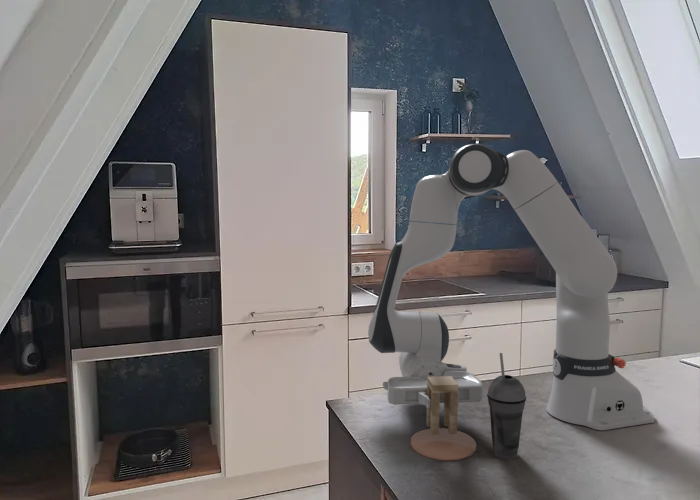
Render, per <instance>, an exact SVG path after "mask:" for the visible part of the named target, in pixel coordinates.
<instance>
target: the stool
mask: <svg viewBox="0 0 700 500" xmlns="http://www.w3.org/2000/svg"><path fill="white" fill-rule="evenodd" d="M440 393H444V403H443V424H444V426H445V427H447V429H448V432H449V433H450V434H457V431H458V412H459V411H458V409H459V402H458V384H457V383H456V381H455V380H454V379H453V378H452V376H439V377H427V396H429V397H431V408H427V407H426V426H427V427H428V428H429V429H430V432H431V434H432V435H439V428H440V407H441V406H440V404H441V403H440Z"/></svg>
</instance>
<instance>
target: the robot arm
mask: <svg viewBox="0 0 700 500" xmlns="http://www.w3.org/2000/svg"><path fill="white" fill-rule="evenodd" d="M490 190H495V191H499V193H501V194H502V195H503V196H504V197H505V198H506V199H507V200H508V202H509V204H510V205H511V207H512V209H513V210H514V212H515V213H516V214H517V216H518V217H519V219H520V221H521V223H523V224H524V225H523V226H525V228H526V229H527V231H528V232H529V234H530V235H531V237H532V238H533V240H534V242H536V245H537V246H538V247H539V249H540V251H541V252H542V253H543V255H544V256H545V258H546V260H548V262H549V263H550V265H551V267H552V268H553V270H554V272H555V296H556V297H555V303H556V304H555V305H556V325H555V327H556V329H555V330H556V331H555V349H554V350H553V359H552V373H553V381H552V386H551V390H550V396H549V399H548V402H547V404H546V408H545V409H546V412H548V414H550V415H551V416H552V417H553V418H556V419H558V420H561V421H564V422H567V423H570V424H574V425H579V426H584V427H588V428H590V429H593V430H597V431H607V430H613V429H619V428H627V427H634V426H638V425H639V426H640V425H645V424H651V423H653V424H654V423H655V415H654V414H653V413H652V411H651V410H649V409H648V408H647V407H645V405H644V403H643V398H642V394H641V392H640V390H639V388H638V387H637V386H635V385H634V384H633V383H632V382H631V381H630V380H628V379H627V378H625V376H624V375H622V374H621V373H619V372H618V371H617V369H616V367H617V368H619V369H624V368H625V367H626V364H627V361H626V360H625V359H622V358H620V357H617V356H616V357H615V356H613V355H611V354H610V330H611V329H610V328H611V327H610V326H611V318H610V310H609V296H608V293H609V292H610V291H611V290H612V289H613V287H614V286H615V284H616V282H617V279H618V268H617V263H616V261H615V260H614V258H613V257H612V256H611V254H610V252H609V251H608V250H607V248H606V247H605V245H604V244H603V242H602V241H601V240H600V239H599V237H598V236H597V234H596V233H595V232H594V230H593V229H592V227H590V225H589V223H588V222H587V221H586V220H585V219H584V217H583V215H581V214H580V212H579V211H578V210H577V208H576V206H575V205H574V203H573V202H572V201H571V199H570V197H569V196H568V194H567V192H565V190H564V189H563V187H562V186H561V185H560V183H559V182H558V180H557V179H556V177H555V176H554V174H553V173H552V172H551V171H550V169H549V168H548V167H547V166H546V165H545V164H544V163H543V161H541V159H539V157H538V156H536V155H535V153H533V152H532V151H530V150H527V149H522V150H521V149H519V150H515V151H513V152H511V153H508V154H507V155H506V154H504V153H502V152H500V151H497V150H496V149H493V148H491V147H490V146H487V145H485V144H480V143H470V144H466V145H464V146H462V147H460V148H459V149H458V150H457V151H456V152H455V153H454V154H453V156H452V158H451V159H450V163H449V168H448V170H447V171H446V172H445V173H443V174H431V175H427V176H424V177H422V178H421V179H419V180H418V182H417V183H416V185H415V189H414V192H413V197H412V200H411V206H410V212H409V219H408V222H409V223H408V228H407V231H406V232H405V234H404V237H403V238H402V239H401V240H400V241H399V242H396V243H394V245H393V247H392V249H391V251H390V254H389V256H388V257H389V258H388V260H387V264H386V268H385V271H384V275H383V279H382V281H381V286H380V290H379V293H378V298H377V301H376V304H375V308H374V311H373V314H372V317H371V318H370V321H369V325H368V331H367V333H368V341H369V344H370V345H371V346H372V347H373V348H374V349H375V350H376V351H377V352H379V353H380V354H391V353H392V354H394V353H400V354H399V358H398V364H399V370H400V373H401V376H393V377H390V378H389V379H387V381H384V382H382V386H383V389H384V390H385V391H387V402H388V403H389V404H392V405H419V404H420V405H423V406H425V407H426V409H427V408H431V397H429V396H427V377H439V376H452V378H453V379H454V380H455V381H456V383H457V384H458V403H480V402H482V401H483V399H484V390H485V389H484V384H483V383H482V381H481V380H480V379H479V378H478V377H477V376H476V375H475V374H473V373H471V372H470V371H468V370H467V367H466V366H465V365H461V364H453V363H447V362H443V360H444V358H445V357H446V356H447V353H448V350H449V344H450V332H449V328H448V325H447V324H446V321H445V320H444V319H443V317H442V316H441V315H440V314H438V313H437V312H425V311H423V312H422V311H401V310H396V309H395V307H396V303H397V299H398V296H399V293H400V288H401V284H402V281H403V279H404V276H405V275H406V274H407V273H408V272H410V271H411V270H412V269H414V268H417V267H419V266H424V265H426V264H429V263H433V262H435V261H438V260H440V259H441V258H443V257H445V256H446V255H447V254H448V253H450V252H451V250H452V249H453V247H454V244H455V241H456V236H457V235H456V234H457V227H458V226H457V224H458V217H459V216H458V214H459V209H460V205H461V203H462V201H463V200H464V199H465V200H467V199H469V198H475V197H479V196H482V195H484V194H486V193H487V192H489V191H490ZM440 404H444V393H440Z"/></svg>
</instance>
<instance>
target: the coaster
mask: <svg viewBox="0 0 700 500" xmlns="http://www.w3.org/2000/svg"><path fill="white" fill-rule="evenodd" d="M410 447H411V448H412V450H413V451H414V452H416V454H419V455H420V456H422V457H425V458H427V459H432V460H438V461H446V462H447V461H448V462H449V461H458V460H464V459H467V458H469V457H471V456H473V454H474V453H475V452H476V451H477V442H476V441H475V439H474V438H473V437H472V436H471V435H469V434H467V433H465V432H462V431H461V430H457V434H450V433H449V432H448V428H444V427H443V428H442V427H439V435H432V434H431V432H430V428H428V429H427V428H426V429H422V430H420V431H418V432H415V433H414V434H413V435H412V436H411V438H410Z"/></svg>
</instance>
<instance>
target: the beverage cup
mask: <svg viewBox="0 0 700 500" xmlns="http://www.w3.org/2000/svg"><path fill="white" fill-rule="evenodd" d="M499 361H500V372H501V374H500V375H498V376H497V377H495V378H494V379H492V381H491V382H490V384H489V386H488V390H487V395H486V396H487V401H488V406H489V415H490V416H489V417H490V430H491V433H490V434H491V445H492V450H493V451H492V453H493V455H494V456H495V457H497V458H498V459H502V460H514V459H516V458H517V457H518V451H519V448H520V447H519V446H520V440H521V439H520V436H521V432H522V431H521V430H522V422H523V421H522V420H523V413H524V408H525V405H526V401H527V396H526V390H525V388H524V386H523V384H522V383H521V381H520V380H519V379H518V378H516V377H515V376H513V375H509V374H505V366H504V357H503V353H502V352H500V353H499Z"/></svg>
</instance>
